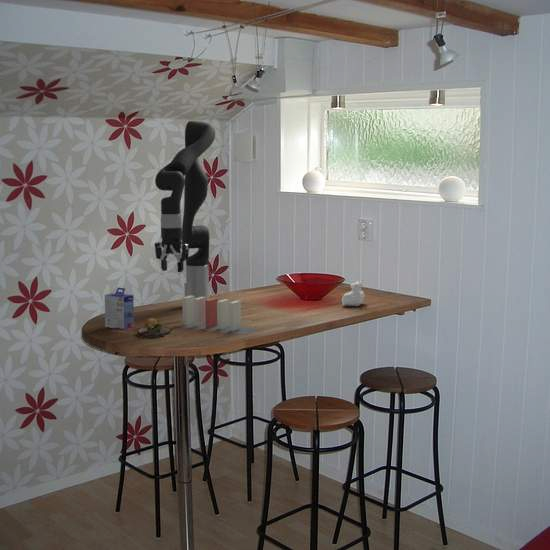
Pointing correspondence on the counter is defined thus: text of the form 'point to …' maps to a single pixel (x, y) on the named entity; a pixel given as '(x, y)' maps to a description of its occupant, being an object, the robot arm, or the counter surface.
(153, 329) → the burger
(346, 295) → the duck figurine
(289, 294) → the counter surface
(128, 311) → the ink cartridge box
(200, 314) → the domino
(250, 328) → the mat
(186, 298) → the domino
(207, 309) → the red domino
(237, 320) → the domino
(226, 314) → the domino
